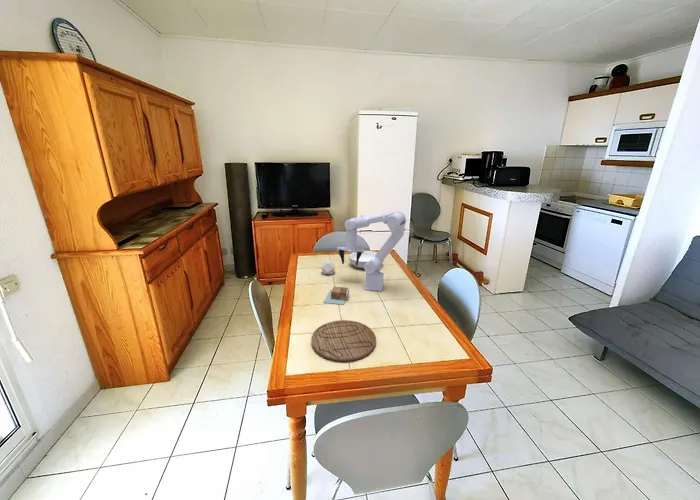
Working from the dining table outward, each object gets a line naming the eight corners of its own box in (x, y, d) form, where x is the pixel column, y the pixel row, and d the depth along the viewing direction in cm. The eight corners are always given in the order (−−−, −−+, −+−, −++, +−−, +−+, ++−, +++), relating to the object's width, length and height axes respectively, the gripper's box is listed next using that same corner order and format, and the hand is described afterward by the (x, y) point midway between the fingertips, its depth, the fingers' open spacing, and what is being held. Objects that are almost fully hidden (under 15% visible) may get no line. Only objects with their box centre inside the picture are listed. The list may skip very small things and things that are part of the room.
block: (349, 287, 152) (333, 286, 153) (347, 293, 146) (331, 291, 148) (349, 294, 153) (333, 293, 155) (347, 300, 148) (331, 299, 149)
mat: (348, 292, 157) (348, 291, 157) (343, 304, 144) (343, 304, 144) (330, 290, 159) (330, 289, 159) (323, 303, 146) (323, 302, 146)
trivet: (386, 356, 109) (386, 351, 109) (318, 369, 103) (317, 364, 102) (363, 320, 132) (363, 316, 131) (306, 329, 125) (306, 325, 125)
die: (329, 278, 175) (338, 264, 175) (317, 270, 175) (325, 256, 175) (330, 277, 183) (338, 264, 184) (318, 270, 183) (326, 257, 184)
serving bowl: (360, 258, 207) (360, 248, 205) (387, 264, 195) (387, 254, 193) (342, 266, 191) (342, 256, 189) (370, 274, 179) (370, 264, 177)
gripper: (336, 241, 159) (335, 265, 164) (363, 244, 157) (362, 268, 162) (338, 237, 166) (338, 260, 170) (365, 240, 164) (363, 263, 168)
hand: (349, 264), depth 166 cm, fingers open, 7 cm apart
